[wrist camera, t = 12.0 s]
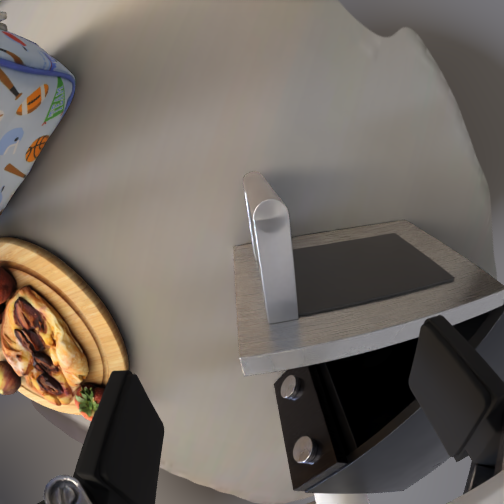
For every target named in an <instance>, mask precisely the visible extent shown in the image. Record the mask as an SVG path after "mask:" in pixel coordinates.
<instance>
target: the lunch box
mask: <svg viewBox="0 0 504 504" xmlns="http://www.w3.org/2000/svg"><path fill="white" fill-rule="evenodd" d="M6 18H7V16H6V12H0V21H2V20H5V19H6ZM75 85H76V80H75V77H74V75H73V74H72V73H71V72H70V71H69V70H68V69H67V68H66V67H65V66H63V65H62V64H61V63H60V62H59V61H57V60H56V59H54V58H53V57H51V56H50V55H49V54H48V53H47V52H45V51H44V50H43V49H42V48H41V47H39V46H38V45H37V44H36V43H34V42H32V41H29V40H27V39H25V38H23V37H20V36H18V35H15V34H13V33H10V32H7V26H6V25H5V24H3V23H0V215H1V213H2V212H3V210H4V208H5V207H6V205H7V204H8V202H9V200H10V199H11V197H12V195H13V194H14V192H15V191H16V189H17V188H18V186H19V185H20V184H21V183H22V181H23V180H24V179H25V177H26V176H27V175H28V173H29V172H30V171H31V169H32V166H33V164H34V162H35V160H36V158H37V157H38V155H39V153H40V151H41V150H42V148H43V146H44V145H45V143H46V141H47V140H48V138H49V137H50V135H51V134H52V132H53V131H54V130H55V128H56V127H57V125H58V124H59V122H60V121H61V119H62V118H63V116H64V114H65V113H66V111H67V109H68V107H69V105H70V103H71V101H72V99H73V96H74V92H75Z"/></svg>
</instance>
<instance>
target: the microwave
mask: <svg viewBox="0 0 504 504" xmlns="http://www.w3.org/2000/svg"><path fill="white" fill-rule="evenodd" d="M453 327H454V328H455V329H456V330H457V331H458V332H459V333H460V334H461V335H462V336H463V337H464V338H465V339H466V340H467V341H468V343H469V344H470V345H471V346H472V347H473V348H474V349H475V350H476V351H477V352H478V353H479V355H480V356H481V357H482V358H483V359H484V360H485V361H486V362H487V363H488V365H489V366H490V367H491V368H492V369H493V370H494V371H495V373H496V374H497V375H498V376H499V377H500V378H501V380H502V381H503V382H504V303H503V306H500V307H498V308H496V309H493V310H491V311H488V312H486V313H484V314H481V315H479V316H476V317H474V318H471V319H469V320H466V321H463V322H461V323H458V324H455V325H453ZM418 338H419V337H417V338H414V339H411V340H408V341H404V342H401V343H398V344H394V345H391V346H387V347H384V348H380V349H377V350H373V351H369V352H365V353H362V354H358V355H354V356H350V357H345V358H341V359H337V360H333V361H328V362H324V363H319V364H314V365H309V366H304V367H299V368H294V369H288V370H287V371H286V372H285V373H284V374H283V375H282V376H281V377H280V378H279V379H278V381H277V382H276V383H275V384H274V387H275V393H276V398H277V404H278V409H279V414H280V420H281V425H282V431H283V436H284V442H285V447H286V452H287V458H288V463H289V469H290V474H291V480H292V485H293V490H295V491H305V493H324V494H363V493H382V492H395V491H404V490H405V489H407V488H408V487H410V486H411V485H413V484H414V483H416V482H417V481H419V480H420V479H422V478H423V477H425V476H426V475H427V474H429V473H430V472H432V471H433V470H434V469H436V468H437V467H438V466H440V465H441V464H442V463H444V462H445V461H446V460H447V459H449V458H450V457H451V456H449V455H448V453H447V451H446V449H445V448H444V446H443V444H442V442H441V440H440V439H439V437H438V435H437V433H436V432H435V430H434V428H433V426H432V425H431V423H430V421H429V420H428V418H427V416H426V414H425V413H424V411H423V409H422V408H421V406H420V404H419V403H418V401H417V399H416V398H415V396H414V394H413V393H412V391H411V389H410V387H409V376H410V372H411V369H412V364H413V360H414V356H415V352H416V347H417V343H418Z"/></svg>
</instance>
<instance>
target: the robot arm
mask: <svg viewBox="0 0 504 504" xmlns="http://www.w3.org/2000/svg"><path fill="white" fill-rule="evenodd" d="M409 387H410V389H411V391H412V393H413V394H414V396H415V398H416V399H417V401H418V403H419V404H420V406H421V408H422V409H423V411H424V413H425V414H426V416H427V418H428V420H429V421H430V423H431V425H432V426H433V428H434V430H435V432H436V433H437V435H438V437H439V439H440V440H441V442H442V444H443V446H444V448H445V449H446V451H447V453H448V455H449V456H451V457H454V458H455V460H456V462H457V461H460V460H461V459H463V458H465V457H467V456H470V458H471V460H472V463H471V468H470V471H469V475H468V479H467V483H466V486H465V490H464V493H463V495H462V496H460V497H458V498H456V499H455V500H453V501H451V502H449V503H447V504H504V382H503V381H502V380H501V378H500V377H499V376H498V375H497V374H496V373H495V371H494V370H493V369H492V368H491V367H490V366H489V365H488V363H487V362H486V361H485V360H484V359H483V358H482V357H481V356H480V355H479V353H478V352H477V351H476V350H475V349H474V348H473V347H472V346H471V345H470V344H469V343H468V341H467V340H466V339H465V338H464V337H463V336H462V335H461V334H460V333H459V332H458V331H457V330H456V329H455V328H454V327H453V326H452V325H451V324H450V323H449V321H448V320H447V319H446V318H445V317H444V316H442V315H438V316H435V317H431V318H428V319H426V320H425V321H424V324H423V325H422V326H421V328H420V333H419V338H418V343H417V347H416V352H415V356H414V360H413V364H412V369H411V372H410V376H409ZM163 437H164V426H163V423H162V421H161V420H160V418H159V416H158V414H157V412H156V411H155V409H154V407H153V405H152V403H151V402H150V400H149V398H148V396H147V394H146V392H145V390H144V388H143V386H142V384H141V382H140V380H139V378H138V377H137V375H136V374H132V372H131V371H130V370H121V371H112V373H111V374H110V377H109V379H108V382H107V384H106V387H105V390H104V392H103V395H102V398H101V400H100V403H99V406H98V408H97V410H96V411H95V413H94V415H93V418H92V421H91V424H90V426H89V429H88V432H87V435H86V438H85V441H84V444H83V447H82V450H81V453H80V456H79V459H78V462H77V465H76V469H75V472H74V475H73V477H72V476H69V475H60V476H56V477H54V478H53V479H51V480H50V481H49V483H48V484H47V485H46V487H45V490H44V500H43V501H41V502H40V503H38V504H155V497H156V489H157V481H158V472H159V465H160V458H161V451H162V444H163ZM314 496H315V500H316V504H370V502H369V499H368V496H367V493H363V494H324V493H314Z"/></svg>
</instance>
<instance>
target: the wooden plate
mask: <svg viewBox="0 0 504 504" xmlns="http://www.w3.org/2000/svg"><path fill="white" fill-rule="evenodd" d="M121 370H129V360H128V355H127V351H126V347H125V344H124V341H123V339H122V336H121V334H120V332H119V329H118V327H117V325H116V323H115V321H114V320H113V318H112V316H111V314H110V313H109V311H108V309H107V308H106V306H105V305H104V303H103V302H102V301H101V300H100V298H99V297H98V296H97V294H96V293H95V292H94V291H93V290H92V288H91V287H90V286H89V285H88V284H87V283H86V282H85V281H84V280H83V279H82V278H81V277H80V276H79V275H78V274H77V273H76V272H75V271H74V270H73V269H71V268H70V267H69V266H68V265H67V264H65V263H64V262H63V261H62V260H61V259H59V258H58V257H57V256H55V255H53V254H52V253H50V252H49V251H47V250H45V249H43V248H41V247H39V246H37V245H35V244H33V243H30V242H27V241H24V240H21V239H17V238H14V237H0V393H1V394H3V395H10V394H14V393H15V392H16V391H17V390H18V391H19V392H21V393H22V394H23V395H25V396H26V397H28V398H30V399H31V400H33V401H35V402H37V403H39V404H41V405H43V406H46V407H48V408H51V409H53V410H56V411H60V412H64V413H69V414H76V415H83V416H84V417H85V418H86V419H88V420H90V421H92V418H93V415H94V413H95V411H96V410H97V408H98V406H99V403H100V400H101V398H102V395H103V392H104V390H105V387H106V384H107V382H108V379H109V377H110V374H111V373H112V371H121Z"/></svg>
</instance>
